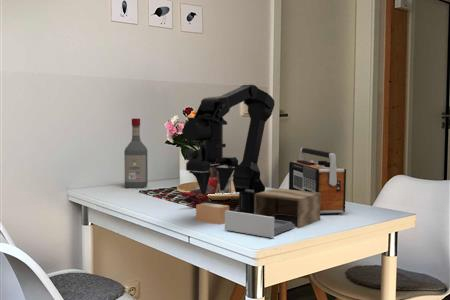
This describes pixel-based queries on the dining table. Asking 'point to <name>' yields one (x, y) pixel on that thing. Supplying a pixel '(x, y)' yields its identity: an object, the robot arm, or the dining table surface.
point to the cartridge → (211, 213)
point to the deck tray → (255, 224)
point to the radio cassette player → (320, 180)
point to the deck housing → (289, 204)
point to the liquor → (136, 160)
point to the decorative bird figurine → (197, 194)
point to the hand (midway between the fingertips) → (213, 192)
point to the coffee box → (215, 174)
